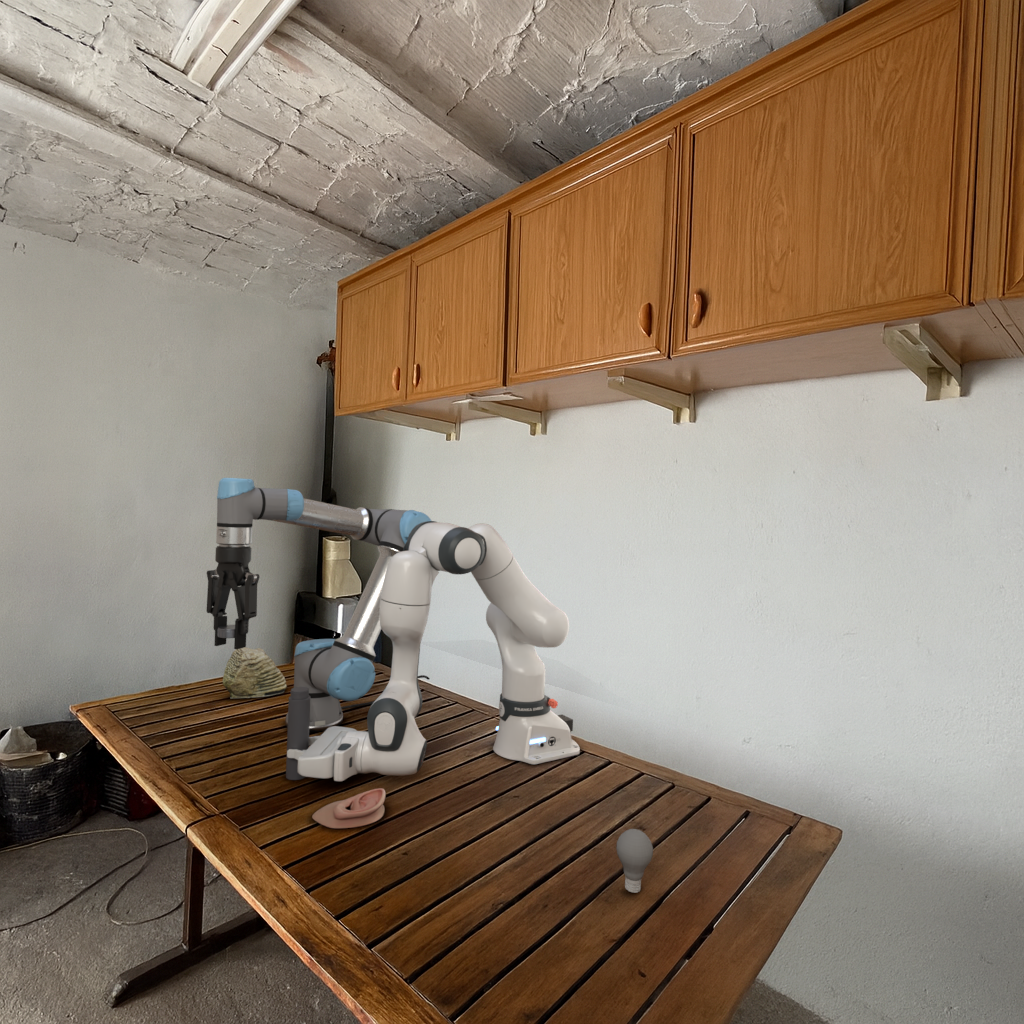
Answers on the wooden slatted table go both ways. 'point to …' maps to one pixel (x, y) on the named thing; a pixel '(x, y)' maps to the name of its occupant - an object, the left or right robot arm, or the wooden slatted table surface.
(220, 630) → the lid
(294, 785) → the wooden slatted table surface
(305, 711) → the dark grey cylinder
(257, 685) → the fossil
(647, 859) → the light bulb
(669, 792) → the wooden slatted table surface
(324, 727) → the left robot arm
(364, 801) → the anatomical model
